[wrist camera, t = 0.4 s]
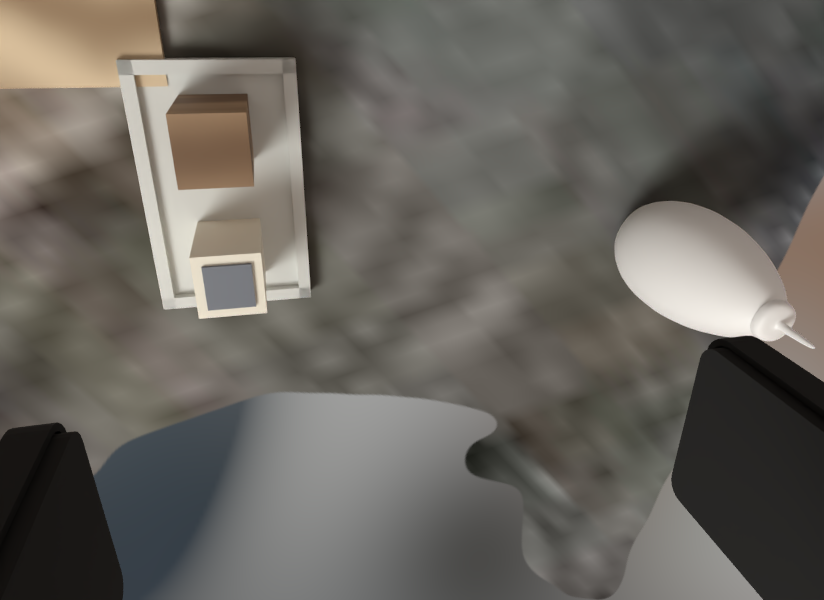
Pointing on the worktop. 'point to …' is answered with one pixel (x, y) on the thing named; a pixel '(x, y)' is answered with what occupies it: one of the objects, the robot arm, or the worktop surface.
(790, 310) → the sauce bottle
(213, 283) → the label box
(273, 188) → the tray
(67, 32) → the pad
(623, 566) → the worktop surface
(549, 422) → the worktop surface
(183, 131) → the walnut block
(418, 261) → the worktop surface
